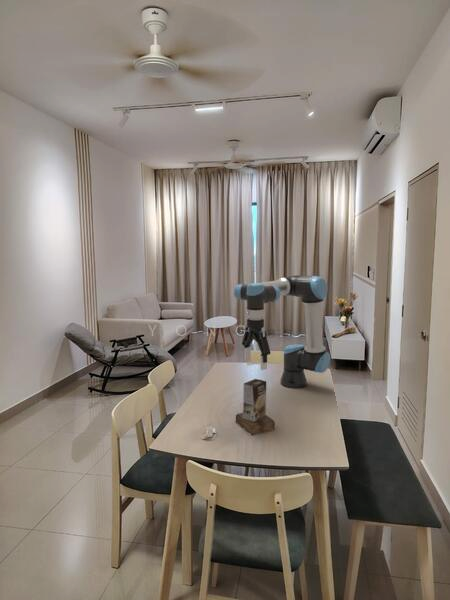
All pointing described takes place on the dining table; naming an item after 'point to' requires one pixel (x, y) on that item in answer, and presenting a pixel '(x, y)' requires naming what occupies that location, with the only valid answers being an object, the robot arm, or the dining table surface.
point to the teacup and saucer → (210, 431)
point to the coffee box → (254, 400)
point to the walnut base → (255, 424)
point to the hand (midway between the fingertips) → (255, 365)
